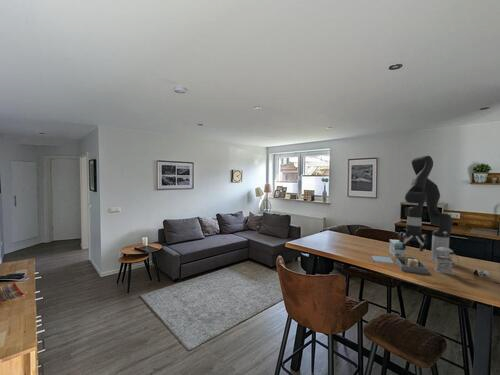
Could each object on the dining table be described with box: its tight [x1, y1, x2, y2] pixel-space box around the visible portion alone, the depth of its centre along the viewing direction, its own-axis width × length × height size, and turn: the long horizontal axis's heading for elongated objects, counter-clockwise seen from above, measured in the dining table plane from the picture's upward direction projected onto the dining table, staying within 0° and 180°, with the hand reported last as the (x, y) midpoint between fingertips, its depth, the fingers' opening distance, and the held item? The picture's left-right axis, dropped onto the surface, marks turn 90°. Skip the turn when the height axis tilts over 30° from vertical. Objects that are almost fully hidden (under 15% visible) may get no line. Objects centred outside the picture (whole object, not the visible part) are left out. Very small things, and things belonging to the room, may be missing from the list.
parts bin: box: [395, 257, 429, 275], centre depth 149 cm, size 14×16×4 cm
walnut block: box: [404, 254, 416, 266], centre depth 153 cm, size 4×4×6 cm
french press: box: [434, 232, 460, 276], centre depth 143 cm, size 10×12×25 cm
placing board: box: [371, 255, 394, 264], centre depth 165 cm, size 12×12×1 cm
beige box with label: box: [407, 258, 418, 267], centre depth 146 cm, size 4×4×6 cm
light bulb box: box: [388, 239, 406, 258], centre depth 175 cm, size 11×7×11 cm, turn 168°
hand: (412, 250), depth 146 cm, fingers open, 8 cm apart
